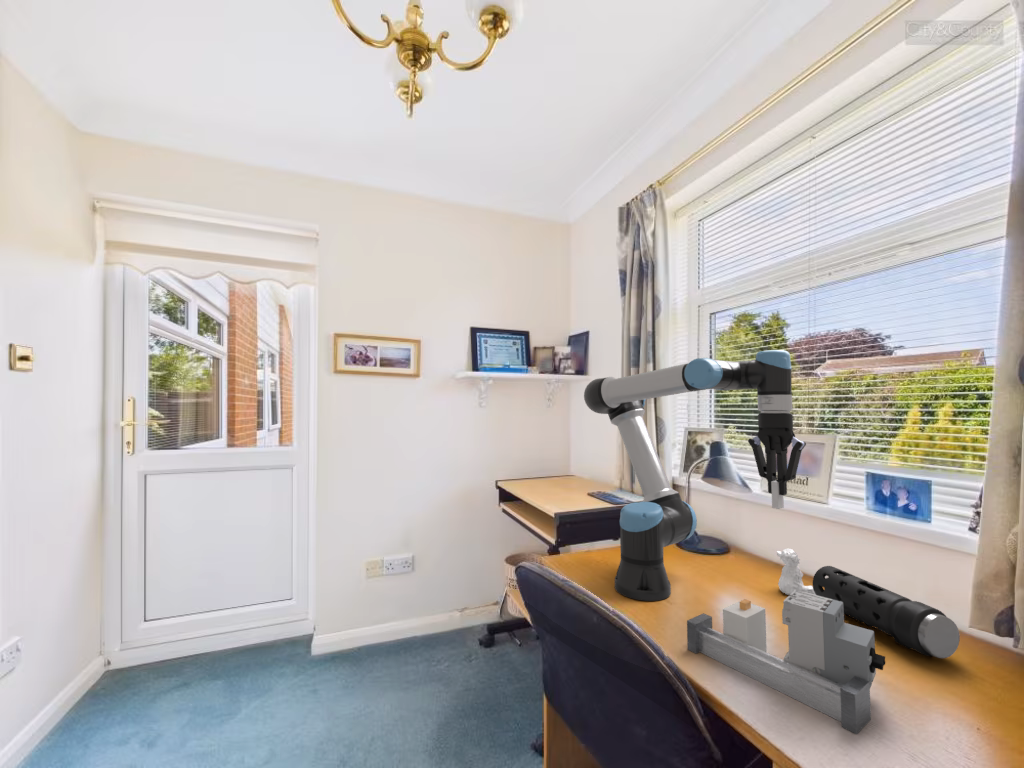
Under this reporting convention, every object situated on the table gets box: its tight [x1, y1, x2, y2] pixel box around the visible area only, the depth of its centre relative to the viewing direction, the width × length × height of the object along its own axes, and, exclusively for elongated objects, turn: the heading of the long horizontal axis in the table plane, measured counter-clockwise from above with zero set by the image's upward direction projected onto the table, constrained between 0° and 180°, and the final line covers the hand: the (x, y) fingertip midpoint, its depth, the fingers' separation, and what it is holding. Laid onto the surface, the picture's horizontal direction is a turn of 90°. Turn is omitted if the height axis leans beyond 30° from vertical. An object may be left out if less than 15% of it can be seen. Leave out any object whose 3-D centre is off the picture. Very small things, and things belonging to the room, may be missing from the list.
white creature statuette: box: [776, 547, 816, 596], centre depth 125 cm, size 10×9×12 cm
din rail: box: [686, 613, 872, 735], centre depth 85 cm, size 30×6×6 cm, turn 34°
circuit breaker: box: [781, 590, 886, 688], centre depth 82 cm, size 8×14×15 cm, turn 44°
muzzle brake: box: [812, 565, 961, 660], centre depth 104 cm, size 10×28×10 cm, turn 7°
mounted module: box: [722, 598, 768, 653], centre depth 95 cm, size 5×8×10 cm, turn 124°
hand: (777, 507), depth 112 cm, fingers closed
